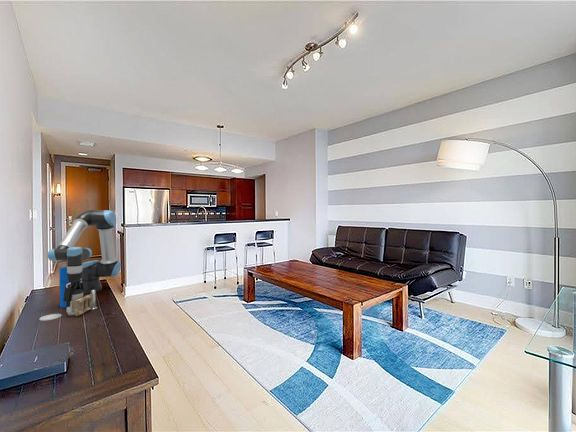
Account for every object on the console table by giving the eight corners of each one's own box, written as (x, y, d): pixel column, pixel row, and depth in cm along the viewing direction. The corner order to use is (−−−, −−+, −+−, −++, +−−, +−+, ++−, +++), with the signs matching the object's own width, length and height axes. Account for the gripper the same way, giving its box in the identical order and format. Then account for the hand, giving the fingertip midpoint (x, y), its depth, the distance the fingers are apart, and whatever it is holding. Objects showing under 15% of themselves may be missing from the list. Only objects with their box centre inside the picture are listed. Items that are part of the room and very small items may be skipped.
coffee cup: (74, 316, 170) (73, 291, 170) (61, 315, 172) (61, 290, 172) (87, 311, 179) (87, 287, 179) (75, 310, 181) (75, 286, 180)
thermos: (83, 302, 195) (83, 266, 195) (70, 307, 185) (70, 269, 184) (69, 301, 197) (69, 265, 196) (55, 307, 186) (55, 268, 185)
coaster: (48, 314, 173) (48, 313, 173) (65, 314, 173) (65, 313, 173) (34, 320, 163) (34, 320, 163) (52, 320, 163) (52, 320, 163)
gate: (90, 307, 182) (90, 293, 182) (92, 307, 182) (92, 293, 182) (75, 316, 168) (75, 300, 168) (77, 316, 168) (77, 300, 168)
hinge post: (91, 307, 186) (91, 289, 185) (98, 307, 186) (98, 289, 186) (87, 309, 181) (87, 291, 181) (94, 309, 181) (94, 291, 181)
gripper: (80, 269, 185) (80, 303, 186) (54, 276, 164) (55, 315, 164) (92, 269, 186) (92, 303, 186) (68, 276, 164) (68, 315, 165)
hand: (74, 309), depth 175 cm, fingers closed on coffee cup, 8 cm apart
